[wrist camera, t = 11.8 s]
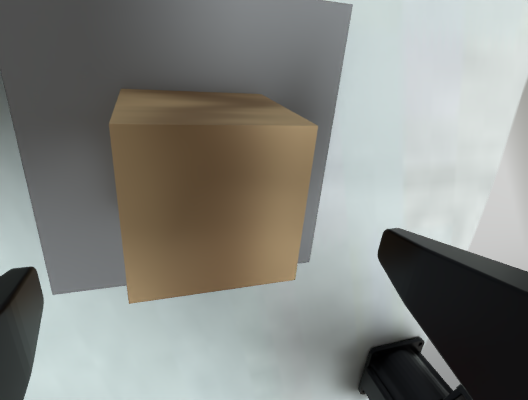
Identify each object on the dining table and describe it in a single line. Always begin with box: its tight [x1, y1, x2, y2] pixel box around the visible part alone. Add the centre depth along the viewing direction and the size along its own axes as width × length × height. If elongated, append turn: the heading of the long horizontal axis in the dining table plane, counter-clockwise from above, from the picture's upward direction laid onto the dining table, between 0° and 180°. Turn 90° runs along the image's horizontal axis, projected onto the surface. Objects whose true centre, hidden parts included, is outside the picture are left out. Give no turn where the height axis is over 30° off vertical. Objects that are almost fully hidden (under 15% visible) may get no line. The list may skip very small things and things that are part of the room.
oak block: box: [109, 89, 318, 304], centre depth 14 cm, size 6×6×6 cm
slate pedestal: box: [0, 0, 353, 295], centre depth 18 cm, size 14×14×4 cm
